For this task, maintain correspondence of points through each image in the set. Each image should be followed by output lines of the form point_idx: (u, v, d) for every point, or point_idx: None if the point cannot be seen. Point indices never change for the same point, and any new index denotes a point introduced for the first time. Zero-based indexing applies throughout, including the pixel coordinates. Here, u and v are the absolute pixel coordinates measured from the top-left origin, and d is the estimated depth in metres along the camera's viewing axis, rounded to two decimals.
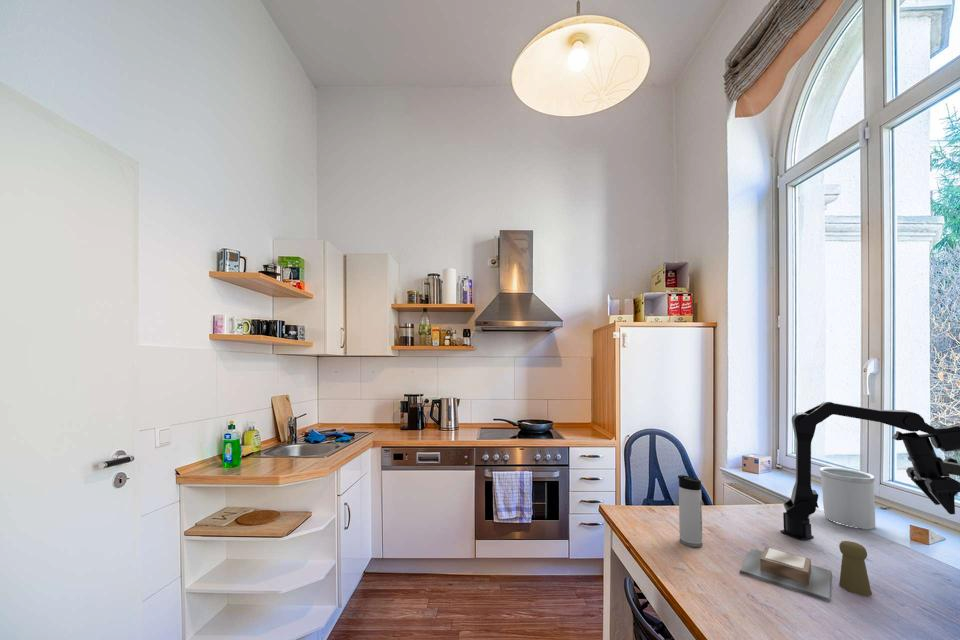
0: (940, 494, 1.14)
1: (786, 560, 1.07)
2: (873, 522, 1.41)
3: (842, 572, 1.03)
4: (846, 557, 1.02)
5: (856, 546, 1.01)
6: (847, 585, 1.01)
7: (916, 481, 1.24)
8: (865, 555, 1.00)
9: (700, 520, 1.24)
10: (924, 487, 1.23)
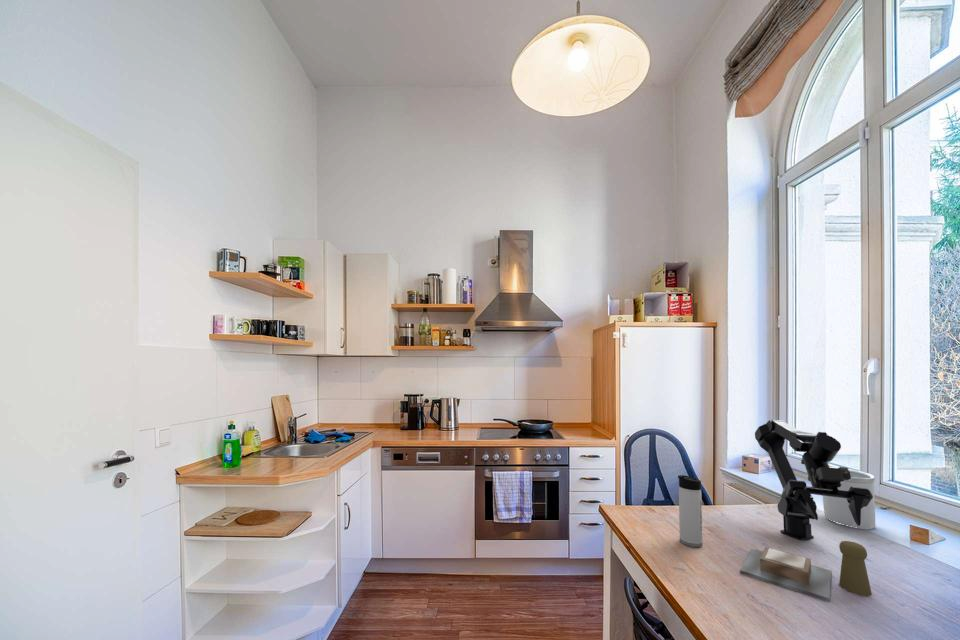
0: (803, 500, 1.17)
1: (786, 560, 1.07)
2: (873, 522, 1.41)
3: (842, 572, 1.03)
4: (846, 557, 1.02)
5: (856, 546, 1.01)
6: (847, 585, 1.01)
7: (849, 506, 1.15)
8: (865, 555, 1.00)
9: (701, 520, 1.24)
10: (851, 509, 1.13)
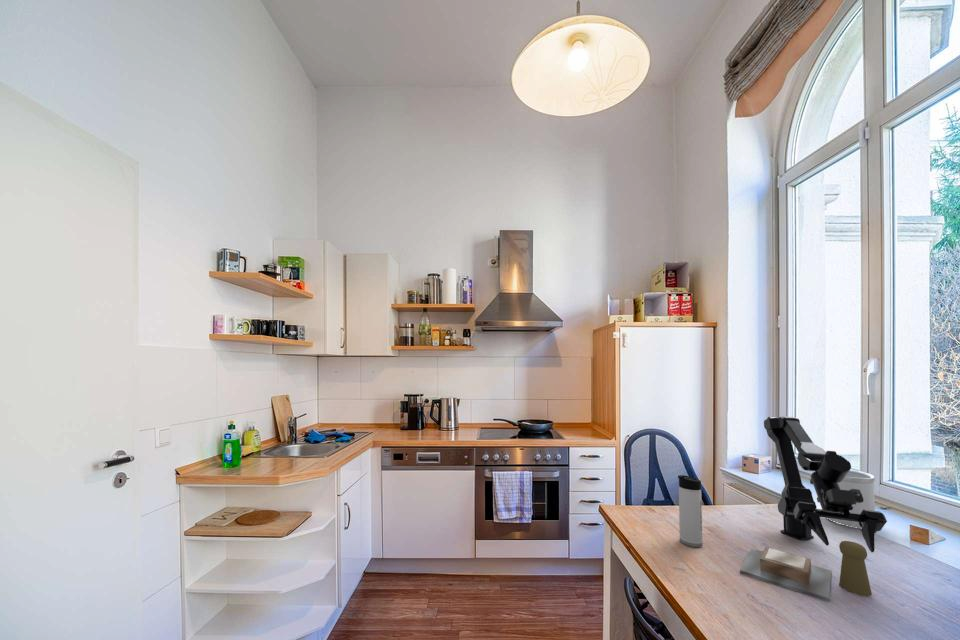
0: (812, 524, 1.11)
1: (786, 560, 1.07)
2: None
3: (842, 572, 1.03)
4: (846, 557, 1.02)
5: (856, 546, 1.01)
6: (847, 585, 1.01)
7: (861, 530, 1.09)
8: (865, 555, 1.00)
9: (700, 520, 1.24)
10: (864, 534, 1.07)
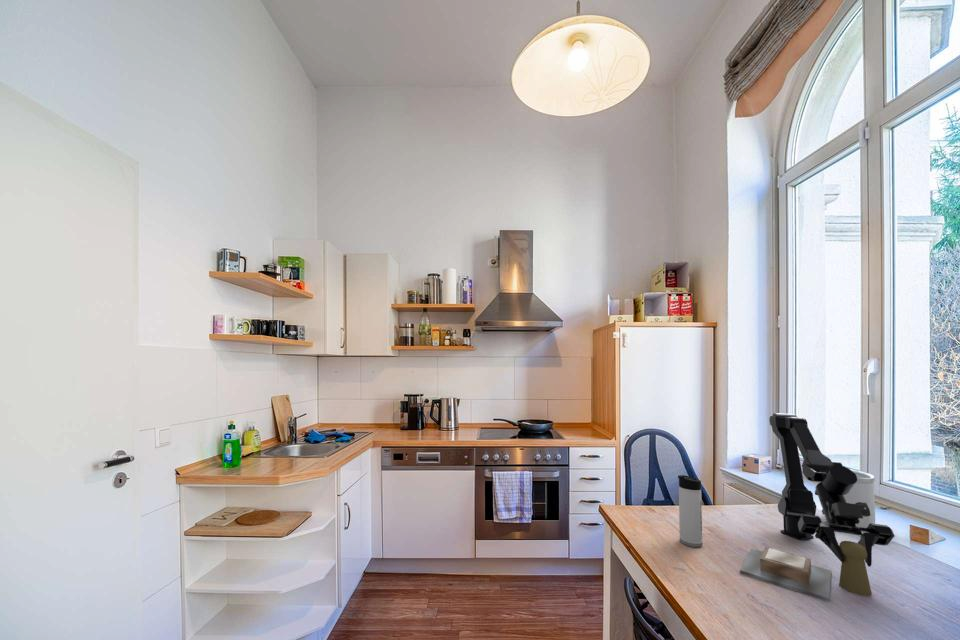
0: (826, 539, 1.07)
1: (786, 560, 1.07)
2: (873, 522, 1.41)
3: (842, 572, 1.03)
4: (846, 557, 1.02)
5: (856, 546, 1.01)
6: (847, 585, 1.01)
7: (858, 542, 1.06)
8: (865, 555, 1.00)
9: (700, 520, 1.24)
10: None
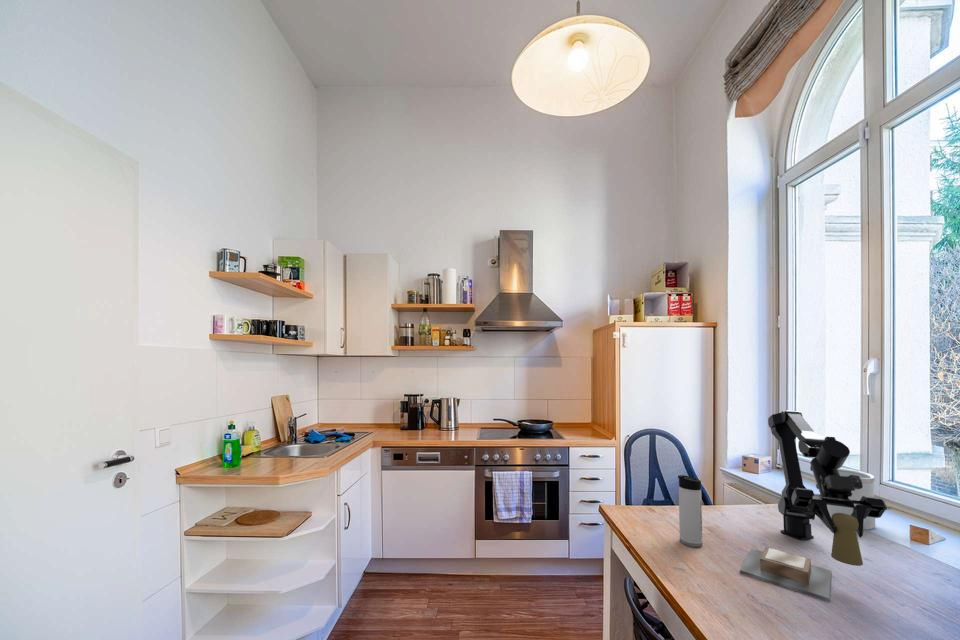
0: (819, 512, 1.09)
1: (786, 560, 1.07)
2: (873, 522, 1.41)
3: (834, 543, 1.04)
4: (838, 528, 1.03)
5: (848, 518, 1.02)
6: (839, 556, 1.02)
7: (851, 515, 1.07)
8: (856, 526, 1.01)
9: (700, 520, 1.24)
10: None
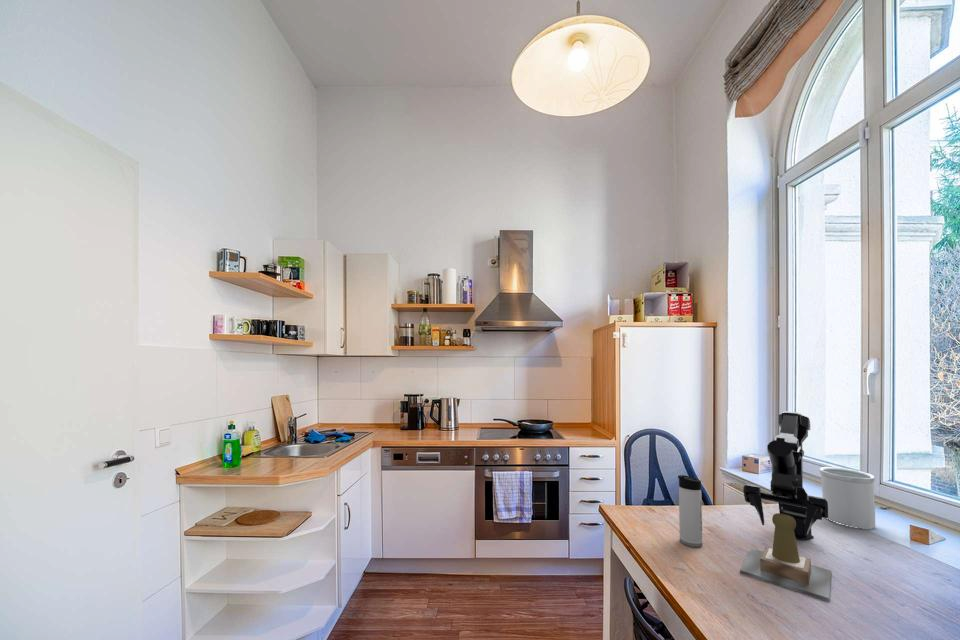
0: None
1: None
2: (873, 522, 1.41)
3: (773, 541, 1.11)
4: (776, 527, 1.10)
5: (784, 517, 1.09)
6: (775, 552, 1.09)
7: None
8: (791, 525, 1.07)
9: (701, 520, 1.24)
10: None
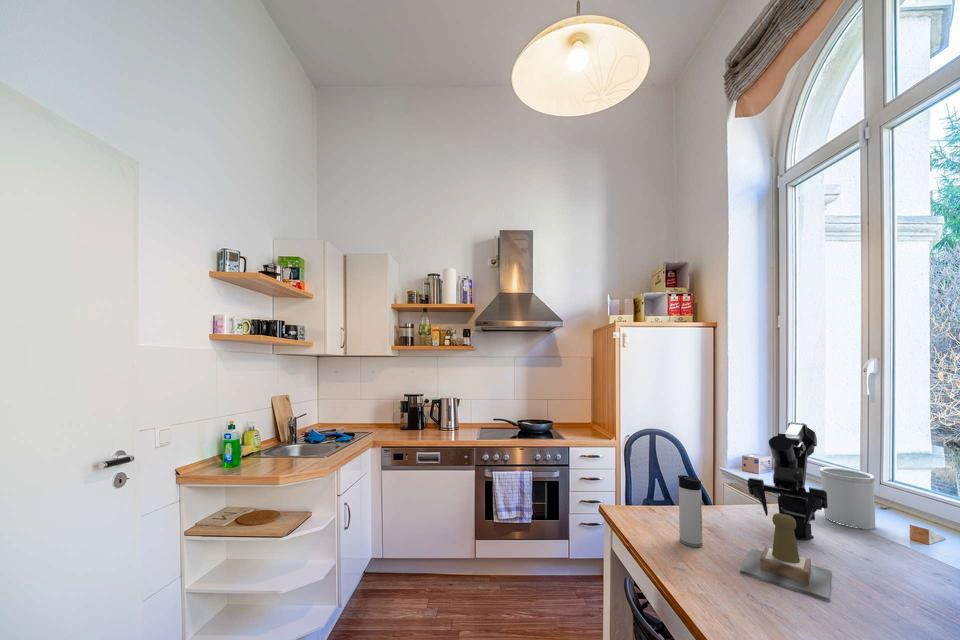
0: None
1: None
2: (873, 522, 1.41)
3: (773, 541, 1.11)
4: (776, 527, 1.10)
5: (784, 517, 1.09)
6: (775, 552, 1.09)
7: None
8: (791, 526, 1.07)
9: (700, 520, 1.24)
10: None
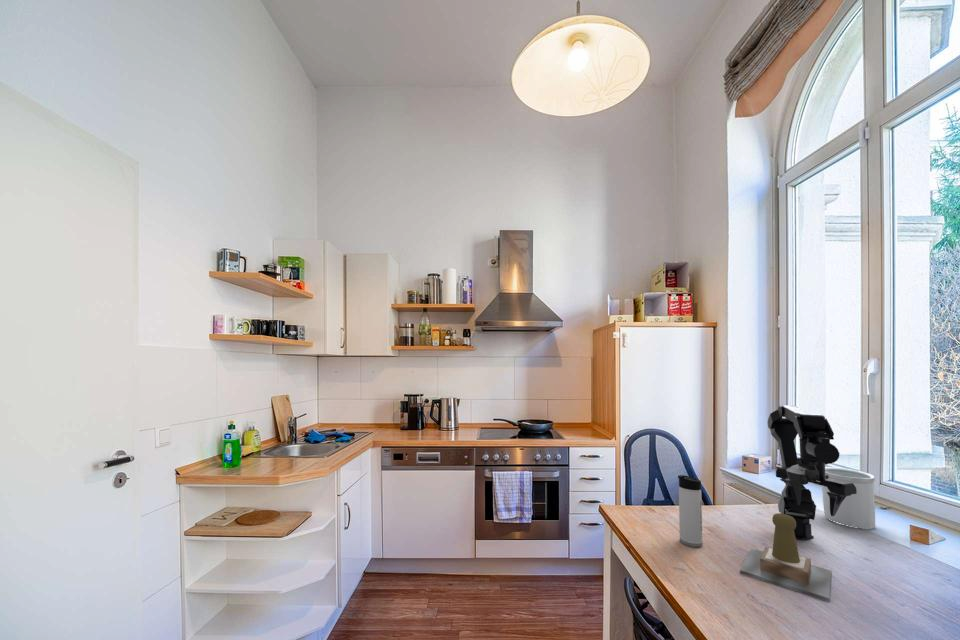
0: None
1: None
2: (873, 522, 1.41)
3: (773, 541, 1.11)
4: (776, 527, 1.10)
5: (784, 517, 1.08)
6: (775, 552, 1.09)
7: None
8: (791, 526, 1.07)
9: (701, 520, 1.24)
10: None
